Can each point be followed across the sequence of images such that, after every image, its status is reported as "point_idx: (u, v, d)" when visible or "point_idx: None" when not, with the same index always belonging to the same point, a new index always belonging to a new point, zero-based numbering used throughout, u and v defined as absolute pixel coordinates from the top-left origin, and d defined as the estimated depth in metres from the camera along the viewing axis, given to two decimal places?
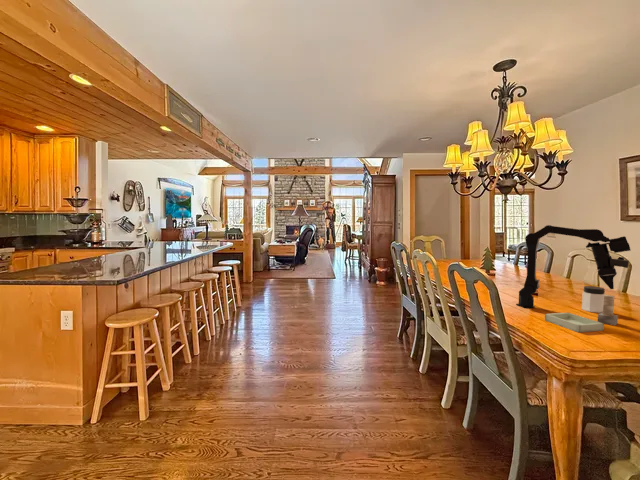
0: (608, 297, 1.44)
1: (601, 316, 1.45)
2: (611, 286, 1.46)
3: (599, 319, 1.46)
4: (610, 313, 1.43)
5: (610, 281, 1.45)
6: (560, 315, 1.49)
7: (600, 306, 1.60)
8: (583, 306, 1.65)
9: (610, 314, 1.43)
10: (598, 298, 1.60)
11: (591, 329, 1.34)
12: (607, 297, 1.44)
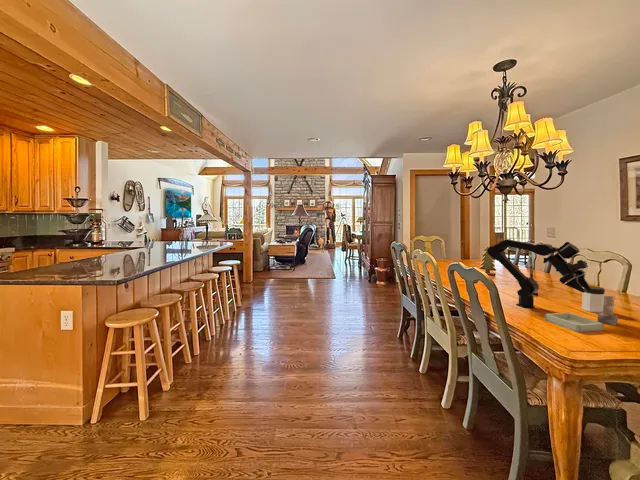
0: (608, 297, 1.44)
1: (601, 316, 1.45)
2: (582, 290, 1.48)
3: (599, 319, 1.46)
4: (610, 313, 1.43)
5: (577, 285, 1.49)
6: (560, 315, 1.49)
7: (600, 306, 1.60)
8: (583, 306, 1.65)
9: (610, 314, 1.43)
10: (598, 298, 1.60)
11: (591, 329, 1.34)
12: (607, 297, 1.44)
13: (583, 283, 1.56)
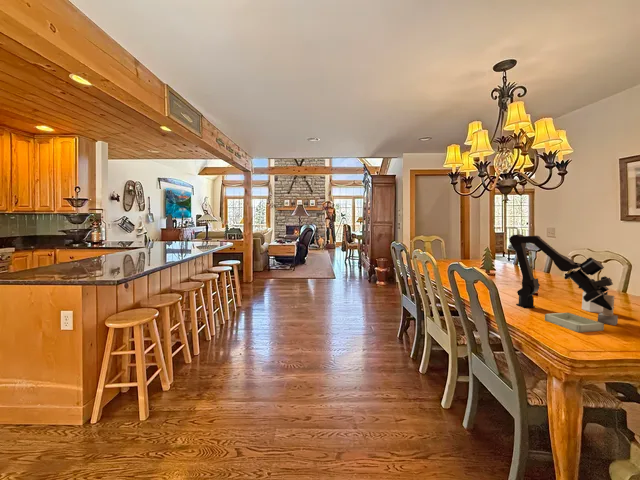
0: (608, 297, 1.44)
1: (601, 316, 1.45)
2: (609, 307, 1.43)
3: (599, 319, 1.46)
4: (610, 313, 1.43)
5: (604, 303, 1.44)
6: (560, 315, 1.49)
7: (600, 306, 1.60)
8: (583, 306, 1.65)
9: (610, 314, 1.43)
10: None
11: (591, 329, 1.34)
12: (607, 297, 1.44)
13: None
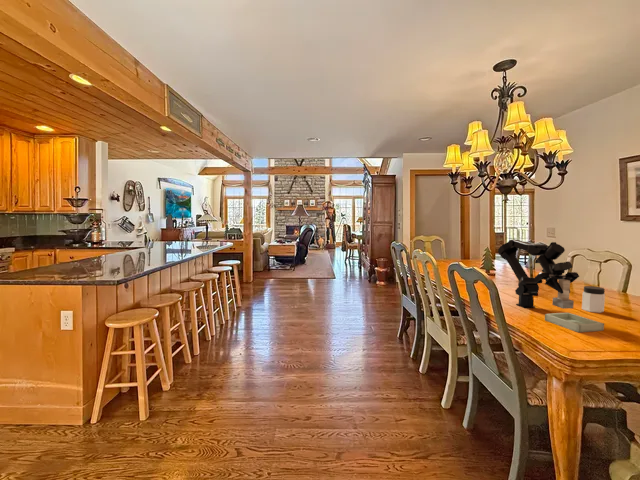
0: (561, 281, 1.47)
1: (554, 299, 1.49)
2: (560, 291, 1.47)
3: (553, 302, 1.50)
4: (562, 296, 1.46)
5: (556, 286, 1.48)
6: (560, 315, 1.49)
7: (600, 306, 1.60)
8: (583, 306, 1.65)
9: (562, 297, 1.46)
10: (598, 298, 1.60)
11: (591, 329, 1.34)
12: (560, 281, 1.47)
13: None
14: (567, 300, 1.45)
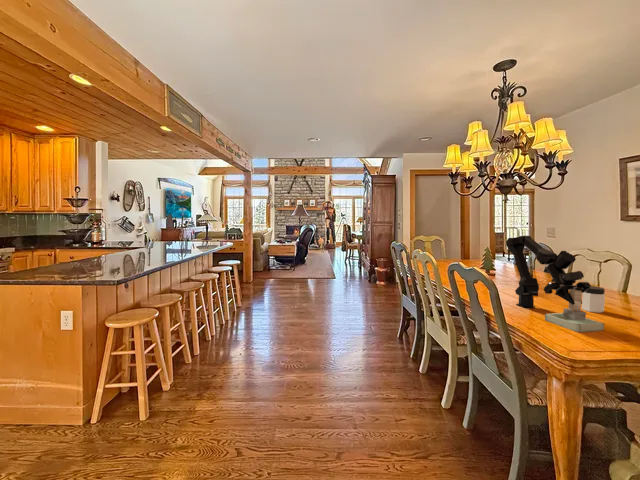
0: (572, 291, 1.41)
1: (565, 310, 1.43)
2: (571, 301, 1.40)
3: (564, 313, 1.44)
4: (573, 308, 1.40)
5: (567, 296, 1.42)
6: (560, 315, 1.49)
7: (600, 306, 1.60)
8: (583, 306, 1.65)
9: (573, 309, 1.40)
10: (598, 298, 1.60)
11: (591, 329, 1.34)
12: (571, 291, 1.41)
13: None
14: (579, 311, 1.39)
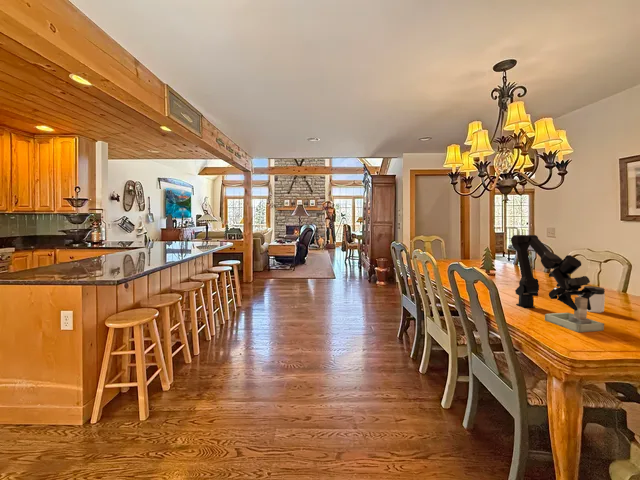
0: (578, 299, 1.38)
1: (571, 318, 1.40)
2: (574, 307, 1.37)
3: (569, 321, 1.41)
4: (579, 316, 1.37)
5: (569, 302, 1.39)
6: (560, 315, 1.49)
7: (600, 306, 1.60)
8: None
9: (579, 317, 1.37)
10: (598, 298, 1.60)
11: (591, 329, 1.34)
12: (577, 299, 1.38)
13: None
14: (584, 319, 1.36)
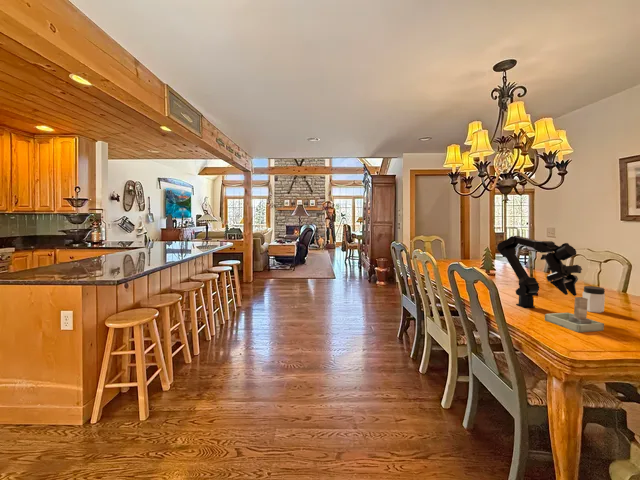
0: (578, 299, 1.38)
1: (571, 318, 1.40)
2: (565, 292, 1.46)
3: (569, 321, 1.41)
4: (579, 316, 1.37)
5: (562, 286, 1.47)
6: (560, 315, 1.49)
7: (600, 306, 1.60)
8: None
9: (579, 317, 1.37)
10: (598, 298, 1.60)
11: (591, 329, 1.34)
12: (577, 299, 1.38)
13: (571, 288, 1.53)
14: (584, 319, 1.36)
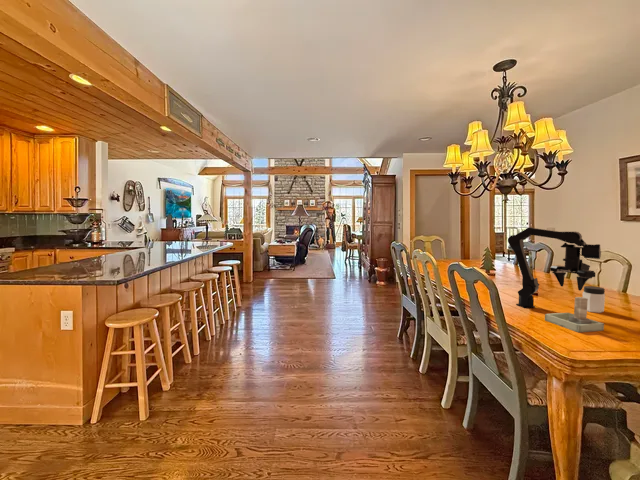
0: (578, 299, 1.38)
1: (571, 318, 1.40)
2: (580, 288, 1.52)
3: (569, 321, 1.41)
4: (579, 316, 1.37)
5: (583, 283, 1.51)
6: (560, 315, 1.49)
7: (600, 306, 1.60)
8: None
9: (579, 317, 1.37)
10: (598, 298, 1.60)
11: (591, 329, 1.34)
12: (577, 299, 1.38)
13: (561, 279, 1.62)
14: (584, 319, 1.36)
